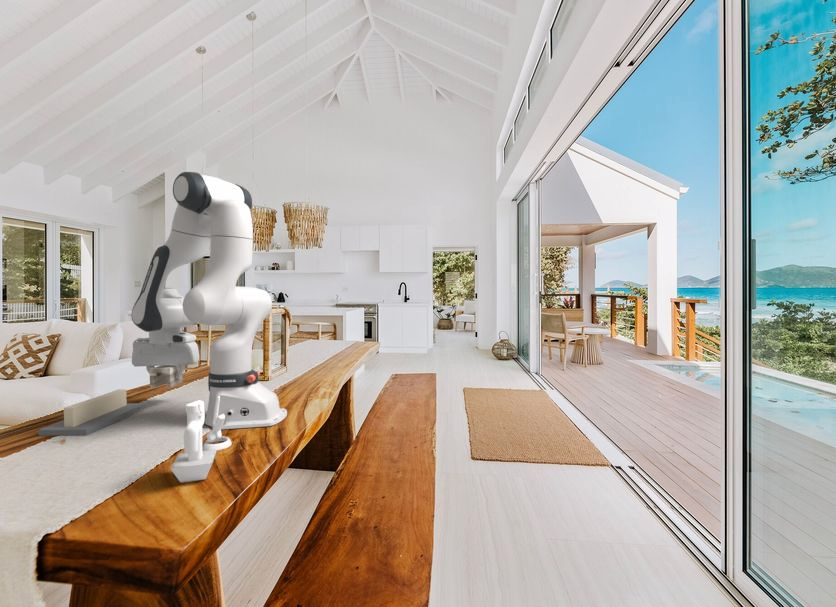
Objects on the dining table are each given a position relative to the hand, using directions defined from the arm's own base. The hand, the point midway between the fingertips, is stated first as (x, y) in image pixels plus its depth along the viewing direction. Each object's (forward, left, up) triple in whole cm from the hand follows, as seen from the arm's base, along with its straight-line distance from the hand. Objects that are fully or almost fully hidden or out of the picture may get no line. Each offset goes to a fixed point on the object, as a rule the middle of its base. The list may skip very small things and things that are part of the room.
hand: (166, 378), depth 130 cm
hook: (-33, +36, -9) cm, 50 cm away
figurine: (-36, +53, -9) cm, 64 cm away
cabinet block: (0, 0, -2) cm, 2 cm away
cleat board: (+10, +17, -8) cm, 21 cm away
